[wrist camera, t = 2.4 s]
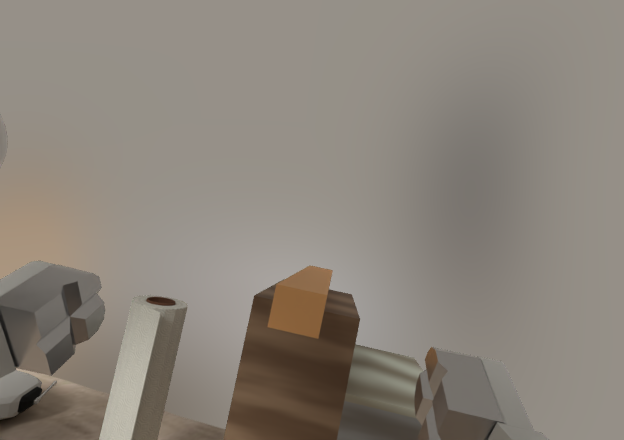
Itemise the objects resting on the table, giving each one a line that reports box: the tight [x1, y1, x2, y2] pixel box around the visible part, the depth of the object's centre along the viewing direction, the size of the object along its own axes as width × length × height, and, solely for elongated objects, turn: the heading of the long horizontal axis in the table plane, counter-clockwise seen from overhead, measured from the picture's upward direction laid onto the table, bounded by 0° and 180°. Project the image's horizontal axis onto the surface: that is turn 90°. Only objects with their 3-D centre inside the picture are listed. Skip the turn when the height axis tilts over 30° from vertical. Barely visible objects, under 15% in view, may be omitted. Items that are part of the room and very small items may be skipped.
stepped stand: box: [223, 280, 423, 440], centre depth 35 cm, size 16×18×26 cm
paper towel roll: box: [99, 296, 187, 440], centre depth 39 cm, size 7×6×21 cm
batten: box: [267, 266, 332, 339], centre depth 32 cm, size 25×3×2 cm, turn 175°
